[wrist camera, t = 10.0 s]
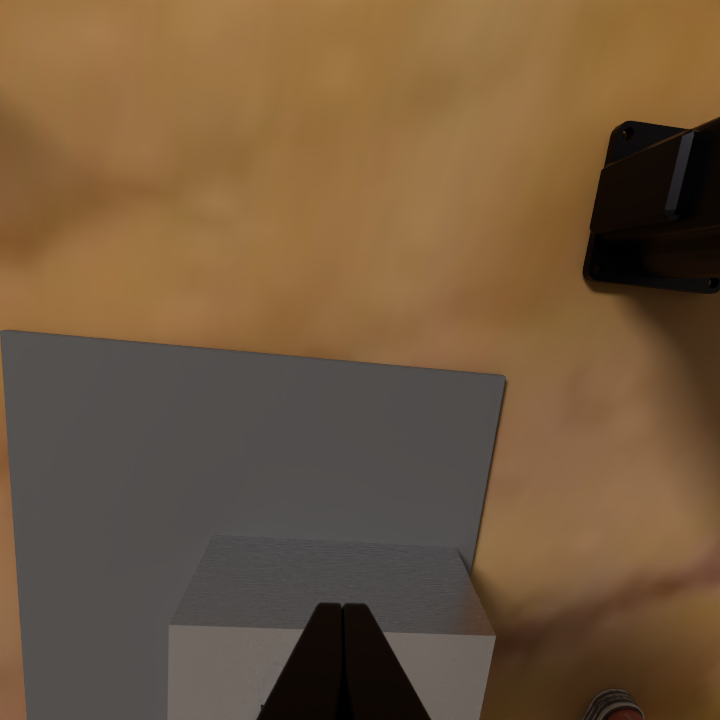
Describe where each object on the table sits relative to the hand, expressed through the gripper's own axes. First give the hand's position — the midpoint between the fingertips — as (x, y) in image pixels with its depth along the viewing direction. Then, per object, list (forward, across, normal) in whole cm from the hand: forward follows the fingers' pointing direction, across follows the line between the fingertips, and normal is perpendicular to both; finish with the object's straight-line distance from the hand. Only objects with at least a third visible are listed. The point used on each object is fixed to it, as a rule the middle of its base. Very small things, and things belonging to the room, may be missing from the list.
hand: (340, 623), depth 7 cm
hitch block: (+11, 0, +13) cm, 17 cm away
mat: (+12, +4, +9) cm, 15 cm away
